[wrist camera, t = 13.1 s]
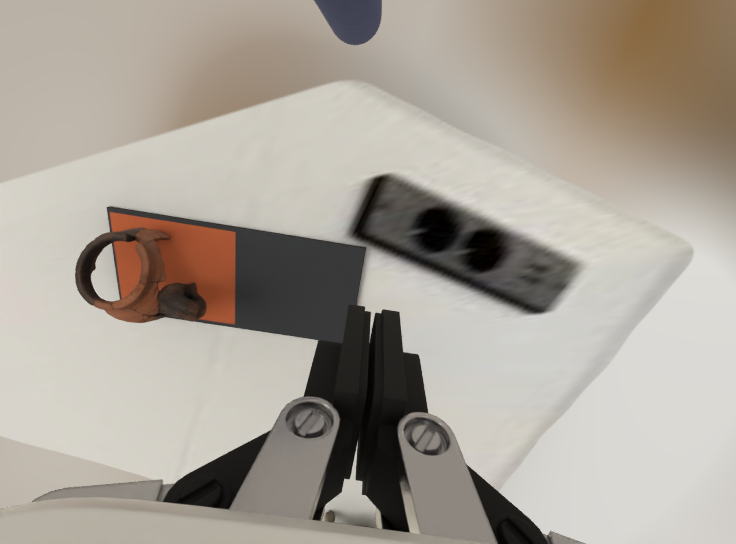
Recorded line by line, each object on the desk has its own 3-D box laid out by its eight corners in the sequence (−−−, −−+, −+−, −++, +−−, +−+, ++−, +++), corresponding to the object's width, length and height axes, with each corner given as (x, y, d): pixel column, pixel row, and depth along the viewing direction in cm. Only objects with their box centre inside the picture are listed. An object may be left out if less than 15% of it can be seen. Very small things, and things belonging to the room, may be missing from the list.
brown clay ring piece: (120, 302, 41) (48, 300, 33) (155, 225, 41) (92, 204, 33) (211, 344, 39) (159, 353, 31) (246, 264, 40) (204, 252, 32)
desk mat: (109, 206, 36) (106, 207, 36) (365, 247, 37) (365, 248, 37) (123, 308, 41) (121, 310, 41) (349, 342, 42) (349, 344, 42)
